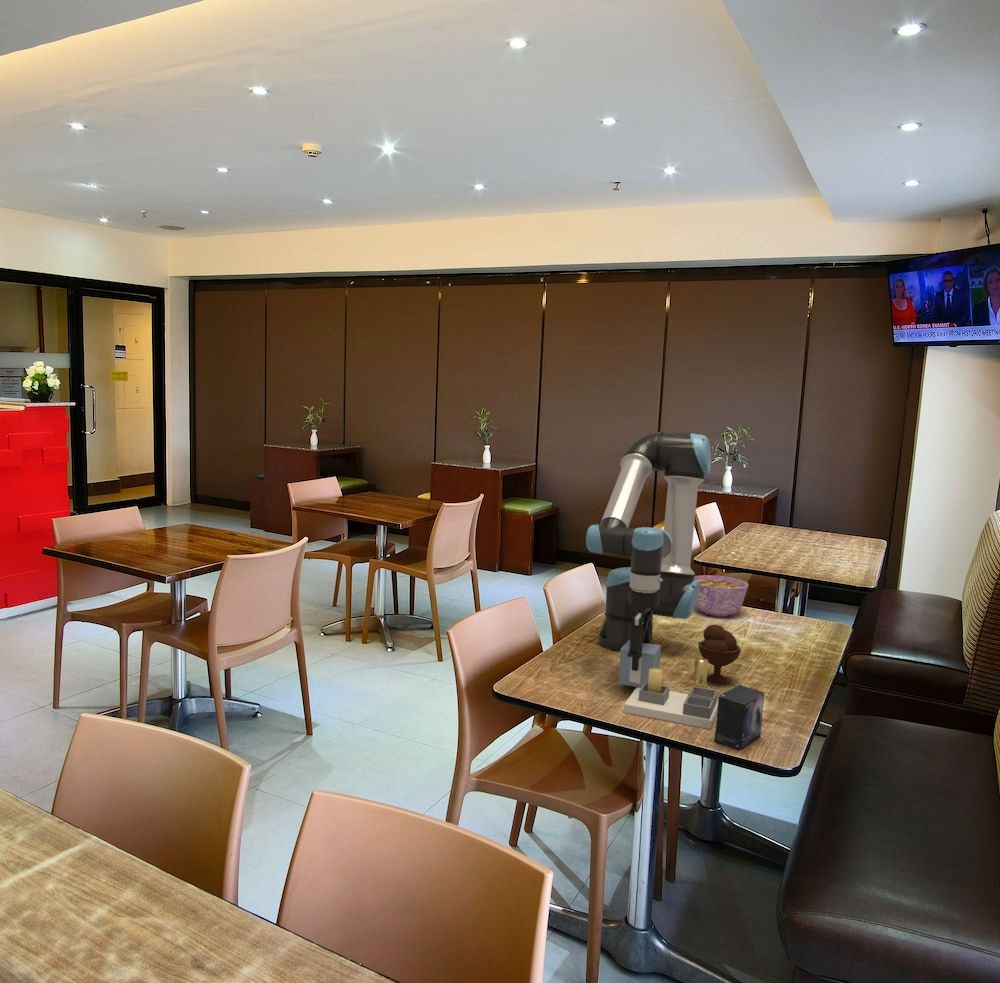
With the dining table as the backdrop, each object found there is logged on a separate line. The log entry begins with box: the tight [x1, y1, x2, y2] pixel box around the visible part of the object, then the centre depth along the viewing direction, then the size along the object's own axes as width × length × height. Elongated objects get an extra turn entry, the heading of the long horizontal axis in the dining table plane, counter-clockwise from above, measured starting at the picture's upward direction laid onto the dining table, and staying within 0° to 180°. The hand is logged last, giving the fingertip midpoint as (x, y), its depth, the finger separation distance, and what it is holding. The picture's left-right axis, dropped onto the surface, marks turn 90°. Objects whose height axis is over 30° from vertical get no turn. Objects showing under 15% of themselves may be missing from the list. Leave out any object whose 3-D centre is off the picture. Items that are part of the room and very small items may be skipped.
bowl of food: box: [694, 574, 749, 618], centre depth 277 cm, size 20×20×12 cm
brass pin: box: [692, 656, 709, 689], centre depth 195 cm, size 3×3×10 cm
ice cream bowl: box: [697, 624, 742, 685], centre depth 208 cm, size 11×11×15 cm
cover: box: [617, 641, 662, 688], centre depth 200 cm, size 8×8×9 cm
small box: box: [713, 684, 765, 750], centre depth 172 cm, size 11×6×10 cm, turn 138°
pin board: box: [623, 668, 719, 730], centre depth 187 cm, size 20×14×9 cm
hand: (639, 676), depth 200 cm, fingers open, 8 cm apart
